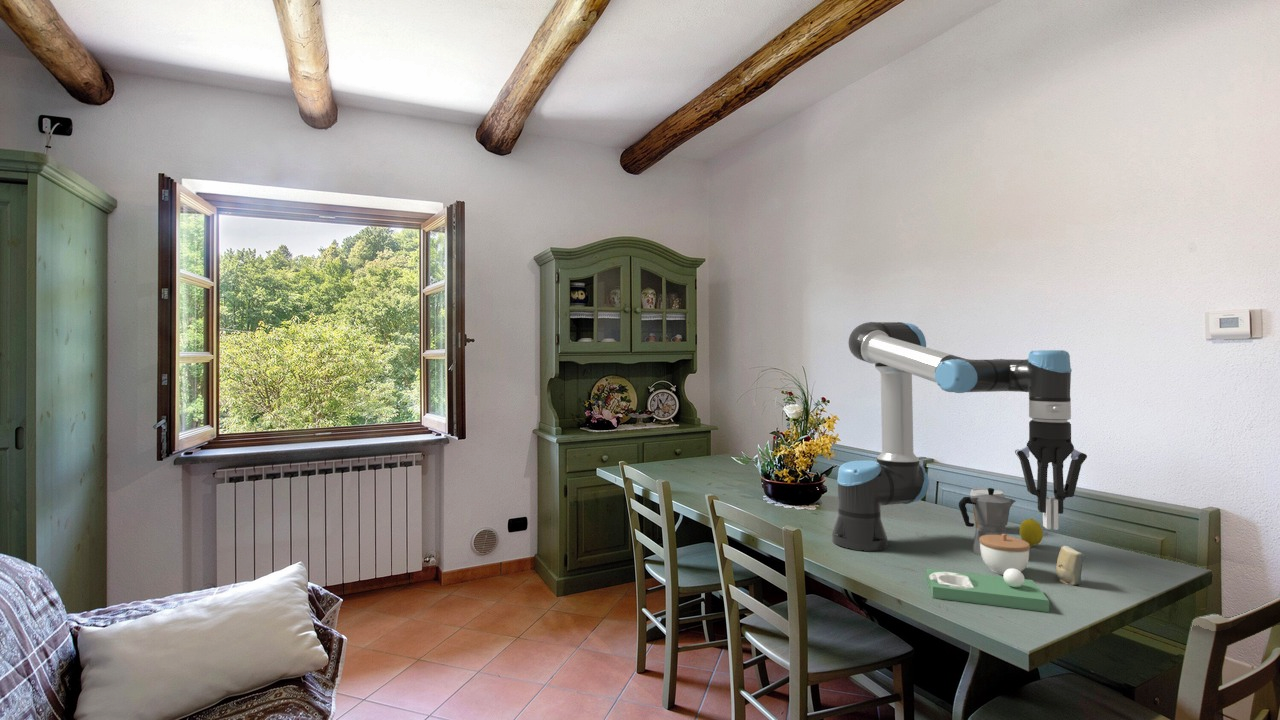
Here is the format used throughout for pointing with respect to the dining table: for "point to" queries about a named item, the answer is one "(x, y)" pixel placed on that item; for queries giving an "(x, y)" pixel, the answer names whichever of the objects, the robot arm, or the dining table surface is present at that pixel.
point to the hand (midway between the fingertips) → (1050, 527)
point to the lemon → (1031, 531)
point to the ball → (1013, 577)
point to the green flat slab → (985, 590)
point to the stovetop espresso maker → (984, 492)
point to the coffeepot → (987, 515)
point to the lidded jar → (1004, 552)
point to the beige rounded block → (1069, 566)
